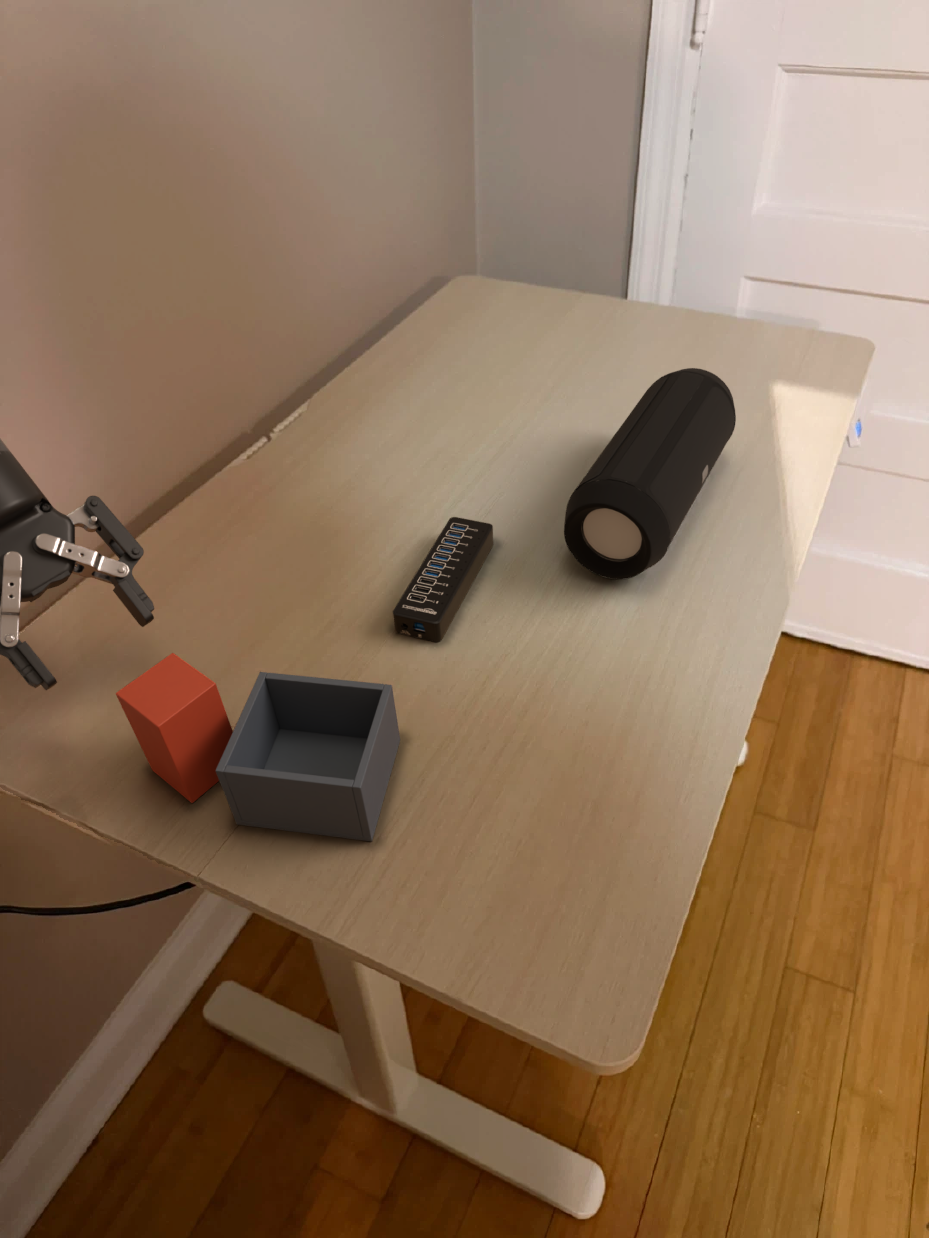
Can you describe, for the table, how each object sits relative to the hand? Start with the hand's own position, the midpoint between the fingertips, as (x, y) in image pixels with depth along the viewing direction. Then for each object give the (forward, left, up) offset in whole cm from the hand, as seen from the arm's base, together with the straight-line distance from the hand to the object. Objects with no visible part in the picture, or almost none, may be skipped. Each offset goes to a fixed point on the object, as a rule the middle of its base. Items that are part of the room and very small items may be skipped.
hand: (102, 653), depth 68 cm
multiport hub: (+23, +19, -7) cm, 30 cm away
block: (+8, -4, -7) cm, 11 cm away
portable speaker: (+41, +32, -7) cm, 53 cm away
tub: (+17, -4, -7) cm, 19 cm away
